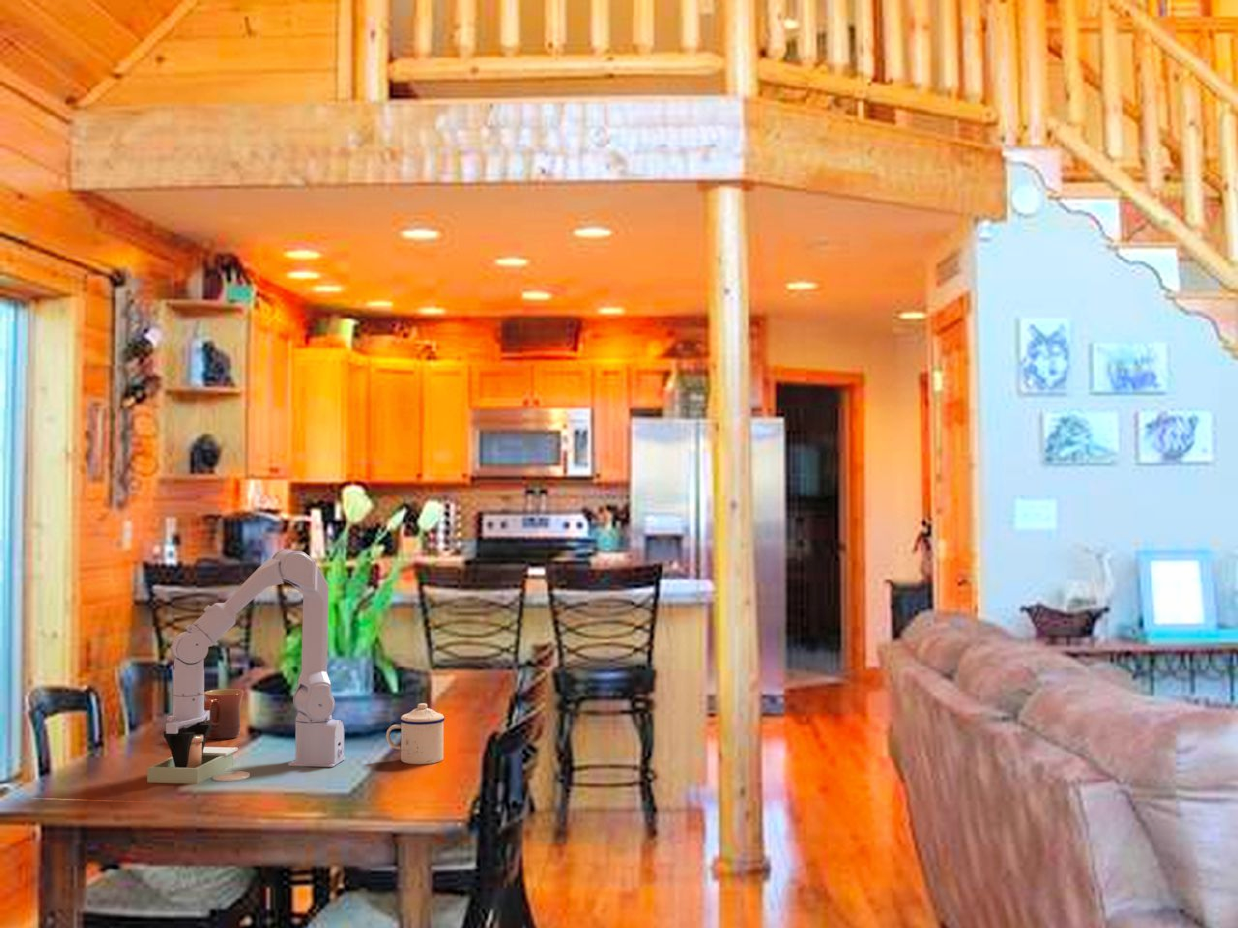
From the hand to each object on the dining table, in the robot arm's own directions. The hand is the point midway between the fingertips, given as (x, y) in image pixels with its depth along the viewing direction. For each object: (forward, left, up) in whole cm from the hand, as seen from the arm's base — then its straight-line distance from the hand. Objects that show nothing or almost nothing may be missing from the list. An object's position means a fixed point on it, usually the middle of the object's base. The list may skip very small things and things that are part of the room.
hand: (188, 764), depth 241 cm
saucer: (-9, +1, -2) cm, 9 cm away
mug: (+10, -36, -3) cm, 38 cm away
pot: (0, 0, -2) cm, 2 cm away
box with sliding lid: (0, -1, -2) cm, 3 cm away
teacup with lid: (-40, -19, -3) cm, 45 cm away
